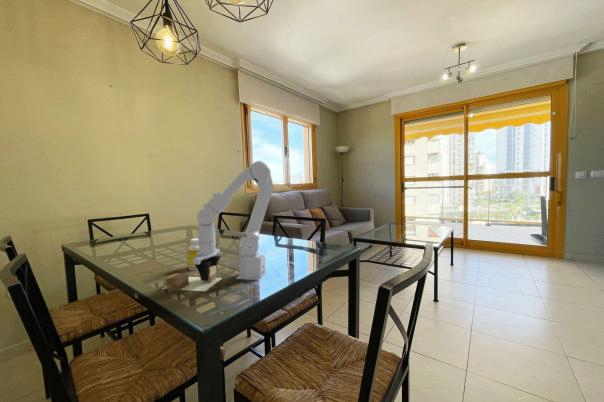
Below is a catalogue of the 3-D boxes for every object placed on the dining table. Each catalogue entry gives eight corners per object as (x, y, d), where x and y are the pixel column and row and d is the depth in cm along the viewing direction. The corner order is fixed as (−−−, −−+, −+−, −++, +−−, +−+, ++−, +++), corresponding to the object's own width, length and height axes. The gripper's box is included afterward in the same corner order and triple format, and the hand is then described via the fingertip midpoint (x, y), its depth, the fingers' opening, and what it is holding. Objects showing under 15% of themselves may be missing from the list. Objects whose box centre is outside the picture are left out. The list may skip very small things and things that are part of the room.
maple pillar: (216, 278, 93) (215, 265, 93) (210, 282, 89) (210, 269, 89) (206, 278, 93) (205, 265, 93) (200, 282, 90) (199, 268, 89)
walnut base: (188, 283, 89) (188, 273, 88) (179, 289, 84) (179, 278, 84) (176, 282, 89) (175, 273, 89) (166, 288, 84) (165, 278, 84)
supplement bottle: (199, 271, 103) (198, 241, 103) (185, 271, 104) (184, 240, 104) (209, 266, 110) (208, 237, 109) (195, 266, 111) (194, 237, 110)
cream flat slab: (222, 279, 94) (222, 278, 93) (205, 292, 82) (205, 291, 82) (183, 278, 96) (183, 276, 96) (161, 290, 84) (161, 288, 84)
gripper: (207, 237, 98) (208, 271, 99) (184, 245, 84) (186, 285, 85) (224, 237, 97) (225, 271, 98) (203, 245, 83) (205, 286, 83)
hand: (208, 278), depth 91 cm, fingers open, 4 cm apart
